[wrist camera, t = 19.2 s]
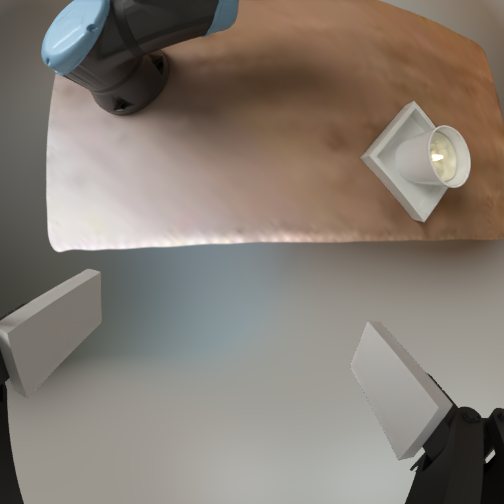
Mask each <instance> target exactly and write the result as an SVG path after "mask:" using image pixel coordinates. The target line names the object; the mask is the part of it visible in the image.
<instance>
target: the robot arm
mask: <svg viewBox="0 0 504 504" xmlns="http://www.w3.org/2000/svg"><path fill="white" fill-rule="evenodd" d="M238 6H239V0H74V1H73V2H71V3H70V4H69V5H68V6H67V7H66V8H64V9H63V10H62V12H61V13H60V14H59V15H58V16H57V17H56V19H55V20H54V21H53V23H52V25H51V26H50V28H49V29H48V31H47V33H46V36H45V38H44V41H43V45H42V59H43V61H44V63H45V64H46V65H47V66H48V67H50V68H51V69H53V70H54V71H55V72H56V73H57V74H59V75H62V76H64V77H66V78H68V79H70V80H71V81H73V82H75V83H77V84H79V85H81V86H83V87H85V88H87V89H89V90H90V91H91V93H92V95H93V97H94V99H95V101H96V103H97V104H98V105H99V106H100V107H101V108H102V109H104V110H106V111H108V112H110V113H112V114H116V115H126V114H131V113H134V112H137V111H139V110H141V109H143V108H144V107H146V106H147V105H149V104H150V103H151V102H152V101H153V100H154V99H155V98H156V97H157V96H158V95H159V94H160V92H161V91H162V89H163V88H164V86H165V84H166V81H167V78H168V73H169V66H168V62H167V59H166V57H165V56H164V54H163V53H162V52H161V50H160V49H163V48H165V47H168V46H171V45H174V44H177V43H180V42H183V41H187V40H190V39H193V38H197V37H200V36H201V37H206V36H208V35H209V34H212V33H215V32H219V31H223V30H226V29H228V28H230V27H231V26H232V25H233V24H234V22H235V21H236V18H237V14H238ZM101 322H102V321H101V272H99V271H95V270H91V269H87V270H85V271H83V272H81V273H80V274H78V275H76V276H74V277H72V278H71V279H69V280H67V281H65V282H63V283H62V284H60V285H58V286H56V287H55V288H53V289H51V290H50V291H48V292H46V293H45V294H43V295H41V296H39V297H38V298H36V299H34V300H33V301H31V302H28V303H25V304H22V305H20V306H19V307H17V308H16V309H15V310H12V311H11V312H9V313H8V314H6V315H4V316H3V317H1V318H0V504H24V503H23V500H22V496H21V493H20V488H19V484H18V480H17V476H16V471H15V466H14V462H13V455H12V449H11V442H10V434H9V424H8V410H7V388H6V385H5V381H6V380H7V379H9V378H10V381H11V384H12V386H13V389H14V390H15V391H16V392H18V393H19V394H21V395H23V396H24V397H26V398H27V399H28V398H29V397H30V396H31V395H32V394H33V392H34V391H35V390H36V389H37V388H38V387H39V386H40V385H41V384H42V383H43V381H44V380H45V379H46V378H47V377H48V376H49V375H50V374H51V373H52V372H53V371H54V370H55V369H56V368H57V367H58V365H59V364H60V363H61V362H62V361H63V360H64V359H65V358H66V357H67V356H68V355H69V354H70V353H71V352H72V351H73V350H74V349H75V348H76V347H77V346H78V345H79V344H80V343H81V342H82V341H83V340H84V339H85V338H86V337H87V336H88V335H89V334H90V333H91V332H92V331H93V330H94V329H95V328H96V327H97V326H98V325H99V324H100V323H101ZM350 368H351V370H352V371H353V373H354V375H355V377H356V379H357V381H358V383H359V384H360V386H361V388H362V390H363V392H364V394H365V396H366V398H367V399H368V402H369V403H370V405H371V407H372V409H373V411H374V413H375V415H376V417H377V419H378V421H379V422H380V425H381V427H382V428H383V431H384V433H385V435H386V436H387V439H388V440H389V442H390V444H391V446H392V449H393V451H394V453H395V454H396V457H397V458H398V460H402V459H406V458H410V457H414V456H415V454H416V453H417V452H418V451H419V450H420V449H421V447H423V448H424V450H425V453H424V454H423V455H422V456H421V457H420V458H419V460H418V461H417V462H416V463H415V464H414V465H413V466H412V467H411V469H410V470H411V471H412V470H413V469H414V468H415V467H417V466H418V468H417V470H416V474H415V478H414V480H413V483H412V486H411V489H410V492H409V494H408V497H407V500H406V502H405V504H504V409H502V408H496V409H494V411H493V412H492V413H491V415H490V416H489V418H481V416H480V414H479V413H478V412H477V411H475V410H474V409H472V408H470V407H460V408H458V407H457V406H456V404H455V403H454V402H453V401H452V400H451V399H450V397H449V396H448V395H447V394H446V393H445V391H443V390H442V388H441V387H440V386H439V384H438V385H437V382H436V381H435V380H434V379H433V378H432V376H430V375H429V374H427V373H426V372H425V371H424V370H423V369H422V368H421V367H420V365H419V364H418V363H417V362H416V361H415V360H414V359H413V357H412V356H411V355H410V354H409V353H408V352H407V351H406V350H405V349H404V348H403V346H402V345H401V344H400V343H399V342H398V341H397V340H396V339H395V338H394V337H393V336H392V334H391V333H390V332H389V331H388V330H387V329H386V328H385V327H384V326H383V325H382V324H381V323H380V322H373V321H368V322H367V324H366V327H365V330H364V332H363V335H362V338H361V340H360V343H359V346H358V348H357V350H356V353H355V355H354V358H353V360H352V362H351V365H350ZM493 450H494V451H495V455H494V457H493V458H492V459H491V460H490V461H489V462H488V463H486V461H485V459H486V458H487V457H488V455H489V454H490V453H491V452H492V451H493Z"/></svg>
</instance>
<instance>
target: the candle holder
mask: <svg viewBox="0 0 504 504" xmlns="http://www.w3.org/2000/svg"><path fill="white" fill-rule="evenodd" d="M395 161H396V166H397V168H398V171H399V172H400V174H401V175H402V176H403V177H404V178H405V179H406V180H408V181H410V182H413V183H420V184H429V185H437V186H445V187H450V188H458V187H460V186H462V185H463V184H464V183H465V182H466V180H467V178H468V176H469V173H470V167H471V159H470V153H469V149H468V147H467V144H466V142H465V140H464V139H463V137H462V136H461V134H460V133H459V132H458V131H457V130H455V129H454V128H452V127H450V126H447V125H442V126H438V127H436V128H434V129H432V130H429V131H427V132H424V133H421V134H419V135H416V136H414V137H411V138H409V139H406V140H404V141H403V142H401V143H400V144H399V146H398V147H397V150H396V154H395Z"/></svg>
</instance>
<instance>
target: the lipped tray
mask: <svg viewBox="0 0 504 504" xmlns="http://www.w3.org/2000/svg"><path fill="white" fill-rule="evenodd" d="M434 128H436V127H435V126H434V124H433V123H432V122H431V120H430V119H429V118H428V117H427V116H426V114H425V113H424V112H423V111H422V110H421V108H420V107H419V106H418V105H417V104H416V103H415V101H413V102H411V103H409V104H407V105H405V106H404V107H403V108H402V109H401V110H400V111H399V113H398V114H397V115H396V116H395V117H394V119H393V120H392V121H391V122H390V123H389V125H388V126H387V127H386V128H385V129H384V130H383V132H382V133H381V134H380V135H379V136H378V138H377V139H376V140H375V141H374V142H373V143H372V145H371V146H370V147H369V148H368V149H367V150H366V152H365V153H364V154H363V155H362V156H361V157H360V159H361V160H362V161H363V162H364V163H365V164H366V165H367V166H368V167H369V168H370V169H371V171H372V172H373V173H374V174H375V175H376V176H377V177H378V178H379V179H380V180H381V182H382V183H383V184H384V185H385V186H386V187H387V188H388V190H389V191H390V192H391V193H392V194H393V195H394V197H395V198H396V199H397V200H398V202H399V203H400V204H401V205H402V206H403V208H404V209H405V210H406V211H407V213H408V214H409V215H410V216H411V218H412V219H413V220H417V221H422V222H425V220H426V219H427V217H428V216H429V215H430V213H431V212H432V210H433V209H434V208H435V206H436V205H437V203H438V202H439V200H440V199H441V197H442V196H443V194H444V193H445V191H446V190H447V188H448V187H445V186H437V185H429V184H420V183H413V182H410V181H408V180H406V179H405V178H404V177H403V176H402V175H401V174H400V172H399V171H398V168H397V166H396V161H395V154H396V150H397V147H398V146H399V144H400V143H401V142H403V141H404V140H406V139H409V138H411V137H414V136H416V135H419V134H421V133H424V132H427V131H429V130H432V129H434Z"/></svg>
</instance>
